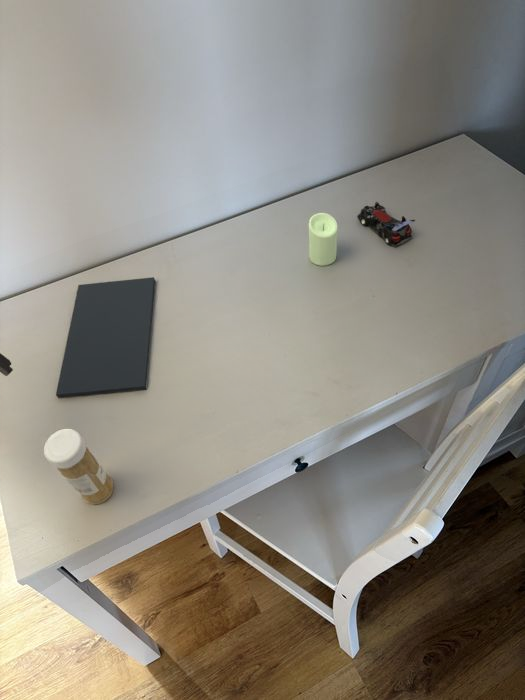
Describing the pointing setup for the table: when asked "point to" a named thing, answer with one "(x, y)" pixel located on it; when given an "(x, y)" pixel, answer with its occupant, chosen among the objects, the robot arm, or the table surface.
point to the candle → (322, 239)
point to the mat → (108, 339)
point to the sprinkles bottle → (78, 465)
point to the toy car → (385, 224)
